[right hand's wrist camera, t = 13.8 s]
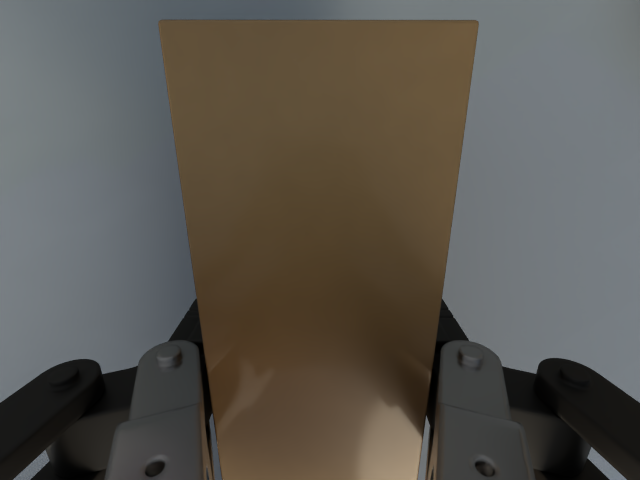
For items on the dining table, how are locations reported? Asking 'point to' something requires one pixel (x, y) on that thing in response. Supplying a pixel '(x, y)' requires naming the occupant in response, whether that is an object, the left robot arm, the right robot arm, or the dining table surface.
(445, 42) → the bar
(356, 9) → the dining table surface
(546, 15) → the dining table surface
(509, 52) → the dining table surface
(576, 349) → the dining table surface
